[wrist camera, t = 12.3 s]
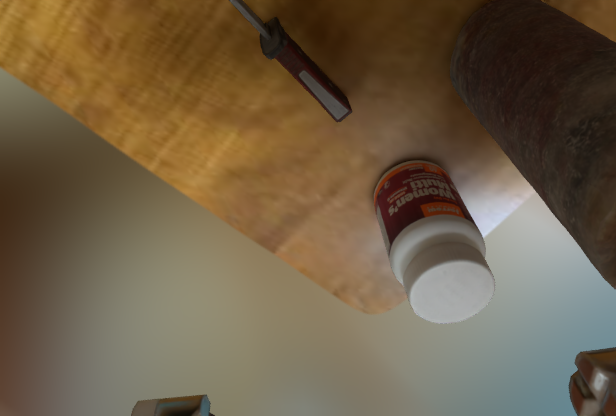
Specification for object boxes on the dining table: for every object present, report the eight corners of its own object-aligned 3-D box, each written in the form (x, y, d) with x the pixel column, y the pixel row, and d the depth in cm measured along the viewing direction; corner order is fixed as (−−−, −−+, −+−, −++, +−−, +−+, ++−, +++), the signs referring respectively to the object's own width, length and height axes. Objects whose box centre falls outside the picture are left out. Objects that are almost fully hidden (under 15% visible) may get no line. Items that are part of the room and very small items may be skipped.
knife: (138, -105, 27) (112, -103, 23) (154, -125, 27) (130, -126, 23) (335, 111, 35) (342, 143, 31) (350, 99, 34) (359, 129, 30)
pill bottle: (437, 144, 36) (491, 237, 27) (460, 206, 40) (515, 309, 30) (359, 177, 38) (386, 277, 28) (388, 235, 41) (419, 342, 31)
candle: (525, 115, 36) (742, 325, 19) (428, 99, 34) (566, 305, 18) (576, 4, 31) (910, 146, 15) (468, -19, 30) (695, 107, 14)
